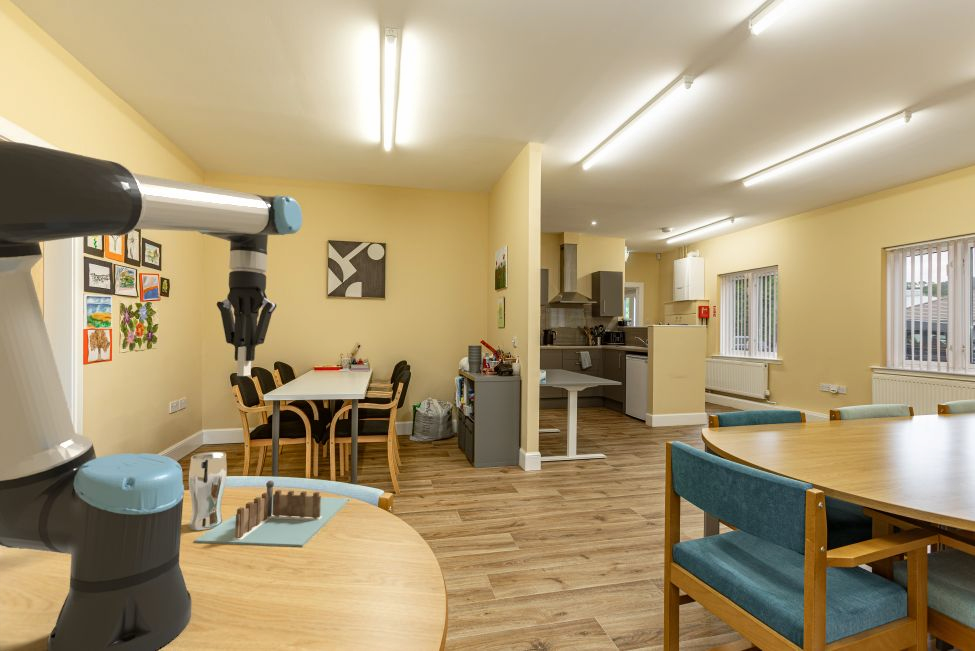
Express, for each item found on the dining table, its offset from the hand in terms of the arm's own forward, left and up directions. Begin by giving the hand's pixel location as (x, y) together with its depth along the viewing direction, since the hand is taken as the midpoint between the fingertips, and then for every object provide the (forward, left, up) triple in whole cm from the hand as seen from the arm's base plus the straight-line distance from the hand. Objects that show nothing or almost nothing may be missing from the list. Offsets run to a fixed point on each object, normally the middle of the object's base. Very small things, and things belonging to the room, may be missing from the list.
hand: (243, 375), depth 100 cm
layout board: (+2, -9, -32) cm, 34 cm away
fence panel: (+2, -12, -32) cm, 34 cm away
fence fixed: (-4, -6, -32) cm, 33 cm away
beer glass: (-3, +5, -33) cm, 33 cm away
